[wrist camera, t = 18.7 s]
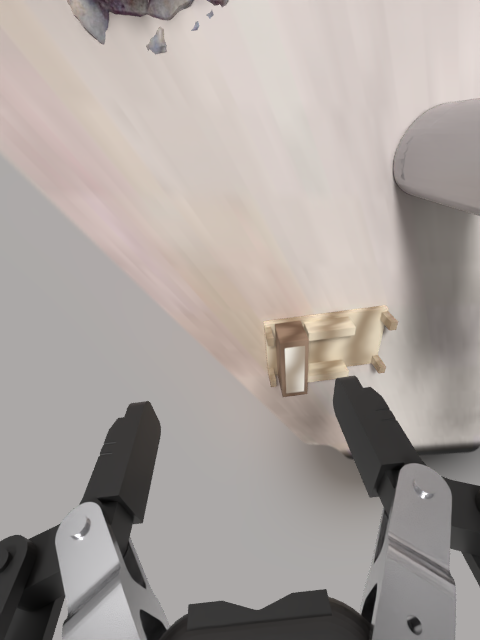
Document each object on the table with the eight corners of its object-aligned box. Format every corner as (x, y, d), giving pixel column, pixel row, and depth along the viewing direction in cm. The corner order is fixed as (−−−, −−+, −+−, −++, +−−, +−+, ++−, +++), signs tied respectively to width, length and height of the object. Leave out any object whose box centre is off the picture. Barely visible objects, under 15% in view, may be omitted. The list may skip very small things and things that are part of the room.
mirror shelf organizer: (385, 305, 43) (398, 319, 40) (373, 359, 50) (383, 374, 47) (263, 321, 44) (267, 336, 40) (267, 372, 50) (271, 388, 47)
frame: (301, 320, 43) (310, 340, 39) (300, 372, 50) (308, 394, 45) (274, 323, 43) (280, 344, 39) (277, 375, 50) (283, 397, 45)
